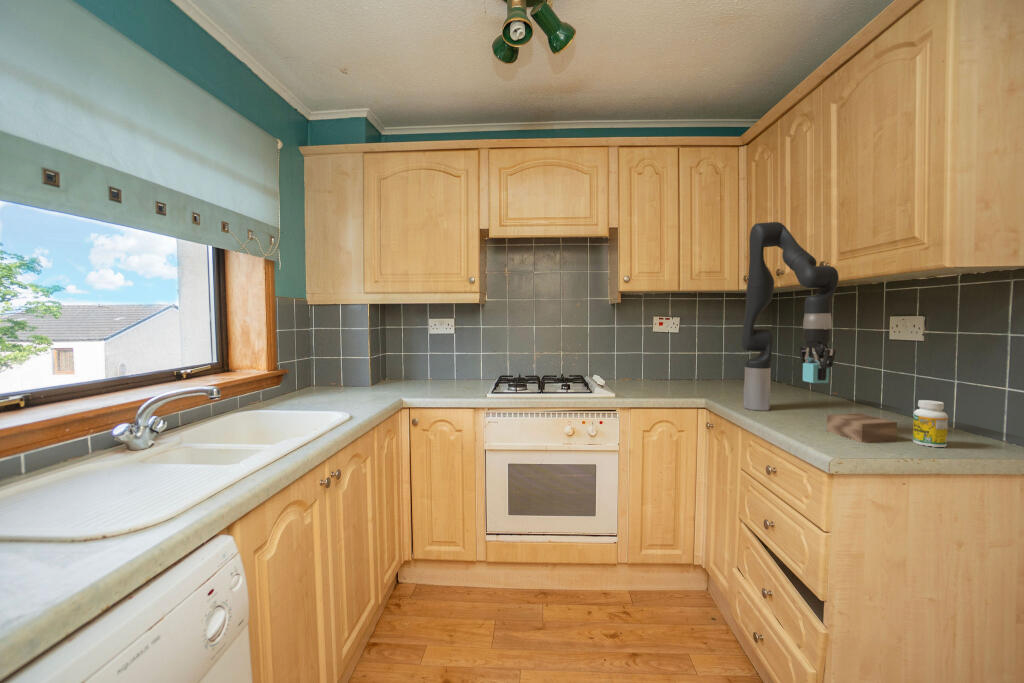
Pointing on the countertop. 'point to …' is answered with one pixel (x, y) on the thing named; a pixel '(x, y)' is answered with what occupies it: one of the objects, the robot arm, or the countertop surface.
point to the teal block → (813, 373)
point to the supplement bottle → (930, 424)
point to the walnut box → (862, 427)
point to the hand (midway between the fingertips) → (815, 378)
